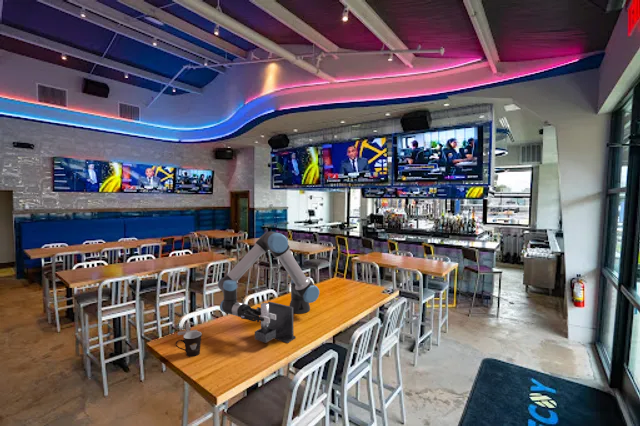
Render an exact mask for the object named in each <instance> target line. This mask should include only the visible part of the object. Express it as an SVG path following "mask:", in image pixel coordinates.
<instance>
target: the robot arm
mask: <svg viewBox="0 0 640 426" xmlns="http://www.w3.org/2000/svg"><path fill="white" fill-rule="evenodd" d="M268 251H270V252H271V254H272V256H273V257H274V258H277V259H278V260H279V262H280V263H281V265H282V266H283V268H284V269H285V271H286V273H287V274H288V276H289V277H290V279H291V280H290V298H291V299H290V302H289V305H288V306H290V307H293V314H297V315H299V314H301V315H302V314H306V313H308V312H310V311H311V306H310V305H311V303H314V302H316V301H317V299H319V295H320V289H319V288H318V286H317V285H315V284H314V283H313V281H312V280H311V279H310V278H309V277H307V275H305V273H304V271H303V270H302V268H301V267H300V265H299V264H298V262H297V260H296V259H295V257H294V256H293V254H292V253H291V251H290V244H289V241H288V238H287V237H286V235H284V234H282V233H281V232H276V231H266V232H265V233H263V234H262V235H261V236H260V237H259V238H258V239H257V240H256V241H255V242H254V245H253V247H251V249H250V250H249V251H248V252H247V253H246V254H245V255H244V256H243V257H242V259H240V260H239V262H237V263H236V265H235V266H234V267H233V268H232V269H231V270H230V271H229V272H228V273H227V274H226V275H225V276H224V277H222V278H220V279H219V280H218V282H217V287H218V289H219V290H220V291H221V293H222V294H223V300H222V301H221V302H220V304H219V310H220V311H221V312H223V313H225V314H226V315H227V314H228V315H233V316H235V317H239V318H240V319H241V320H247V321H250V322H254V323H255V322H257V323H259V322H261V321H263V322H266V323H270V319H273V320H276V315H275V314H272V313H269V317H265V316H262V315H261V307H259V306H257V307H256V308H254V307H251V305H249V304H246V303H242V302H239V301H238V295H237V294H238V285H237V282H238V281H239V280H240V279H241V278H242V277H243V275H245V274H246V272H247V271H248V270H249V269H250V268H251V267H252V266H253V265H254V264H255V263H256V262H257V260H258V259H260V258H261V256H262V255H263V254H266V253H267V252H268Z"/></svg>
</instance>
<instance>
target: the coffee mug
mask: <svg viewBox="0 0 640 426" xmlns="http://www.w3.org/2000/svg"><path fill="white" fill-rule="evenodd" d="M202 337H203V335H202V332H201V331H198V330H197V331H193V332H189V333H186V334H185V335H183V339H178V340H176V342H175V347H176V348H177V349H178V350H182V351H184V352H185V355H186V357H188V358H194V357H198V356H199V355H200V353H201V346H202V345H201V344H202ZM178 342H183V344H184V347H179V345H177V344H178Z"/></svg>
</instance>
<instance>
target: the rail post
mask: <svg viewBox="0 0 640 426" xmlns="http://www.w3.org/2000/svg"><path fill="white" fill-rule="evenodd" d="M260 308H261V315H262V316H265V317H269V303H268V302H262V303H260ZM260 329H261V333H263V334H267V333H269V323H266V322H263V321H260Z"/></svg>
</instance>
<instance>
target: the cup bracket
mask: <svg viewBox="0 0 640 426" xmlns="http://www.w3.org/2000/svg"><path fill="white" fill-rule="evenodd" d="M267 303H269V313H272V314H275V315H276V320H273V319H270V323H269V333H267V334H263V333H261V328H259V329H257V330H255V331H254V340H256V341H259V342H262V343H265V344H266V343H268V342H270V341H272V340H273V339H274V340H276V341H280V342H283V343H286V344H289V343H291V342H292V341H294V340H296V337H297V336H295V335H294V331H295V330H294V313H293V307H290V306H289V305H285V304H281V303H279V302H278V303H276V302H272V301H268V302H267Z"/></svg>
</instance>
